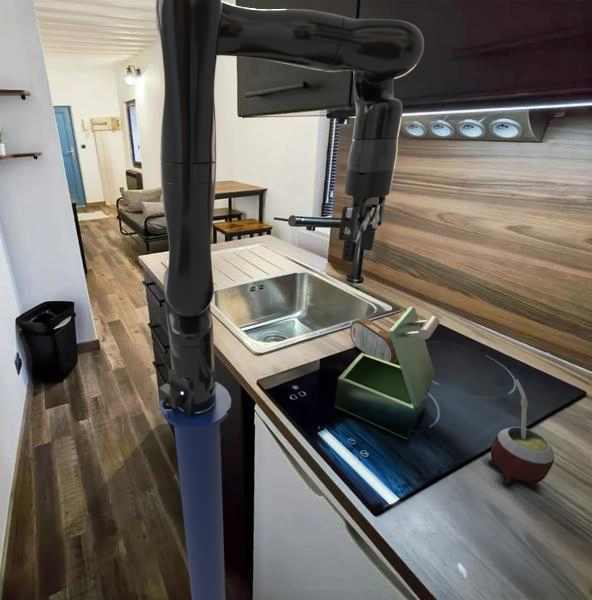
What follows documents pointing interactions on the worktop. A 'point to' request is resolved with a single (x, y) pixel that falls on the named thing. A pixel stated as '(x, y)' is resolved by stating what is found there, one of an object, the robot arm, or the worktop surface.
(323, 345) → the worktop surface
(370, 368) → the green box
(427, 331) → the lid
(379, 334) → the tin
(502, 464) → the mate gourd
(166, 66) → the robot arm
